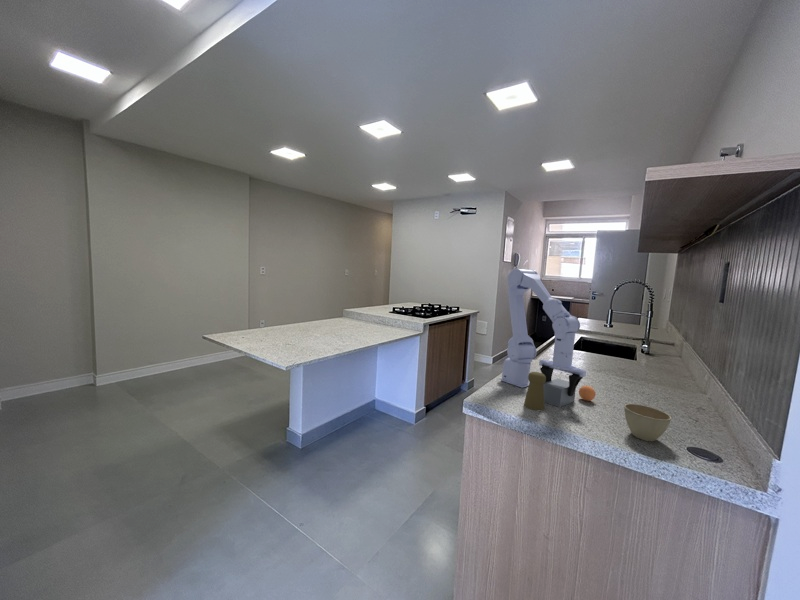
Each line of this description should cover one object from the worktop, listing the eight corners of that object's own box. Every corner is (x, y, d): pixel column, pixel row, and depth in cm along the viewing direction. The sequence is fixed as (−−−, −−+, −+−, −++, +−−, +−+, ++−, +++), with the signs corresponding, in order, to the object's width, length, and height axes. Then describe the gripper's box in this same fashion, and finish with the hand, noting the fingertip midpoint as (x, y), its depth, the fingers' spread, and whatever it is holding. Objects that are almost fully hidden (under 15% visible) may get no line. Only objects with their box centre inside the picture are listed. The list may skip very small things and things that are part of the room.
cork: (547, 408, 102) (551, 374, 101) (538, 412, 98) (542, 377, 97) (530, 401, 107) (533, 368, 106) (520, 405, 103) (523, 371, 102)
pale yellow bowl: (668, 451, 80) (672, 423, 79) (620, 436, 86) (623, 410, 85) (666, 436, 88) (670, 411, 87) (622, 424, 94) (625, 400, 93)
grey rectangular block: (540, 400, 108) (542, 383, 107) (555, 394, 114) (557, 378, 114) (559, 407, 103) (561, 389, 102) (574, 401, 109) (576, 383, 109)
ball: (575, 399, 112) (577, 385, 111) (581, 396, 115) (583, 382, 114) (591, 404, 108) (592, 389, 107) (596, 401, 111) (598, 387, 110)
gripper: (536, 348, 110) (532, 386, 111) (581, 358, 99) (576, 401, 100) (546, 346, 115) (542, 383, 116) (590, 356, 103) (585, 397, 104)
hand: (558, 391), depth 108 cm, fingers open, 7 cm apart
